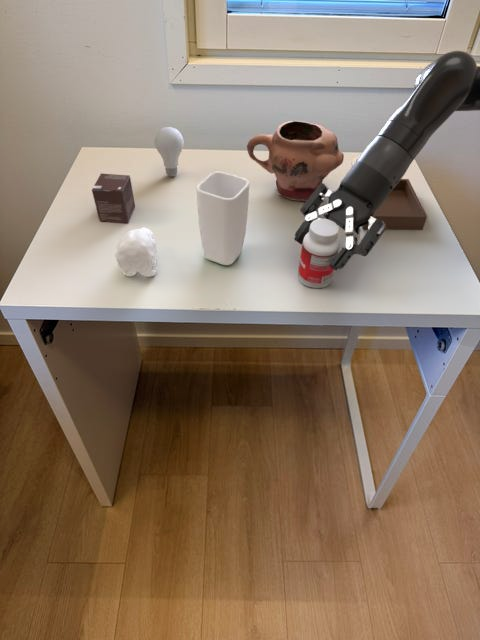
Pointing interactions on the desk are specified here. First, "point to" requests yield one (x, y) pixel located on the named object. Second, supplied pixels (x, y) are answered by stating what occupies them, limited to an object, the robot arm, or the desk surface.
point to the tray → (401, 209)
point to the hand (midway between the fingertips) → (314, 255)
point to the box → (114, 197)
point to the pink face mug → (298, 157)
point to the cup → (222, 215)
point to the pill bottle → (319, 253)
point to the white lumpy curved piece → (137, 252)
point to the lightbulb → (169, 148)
